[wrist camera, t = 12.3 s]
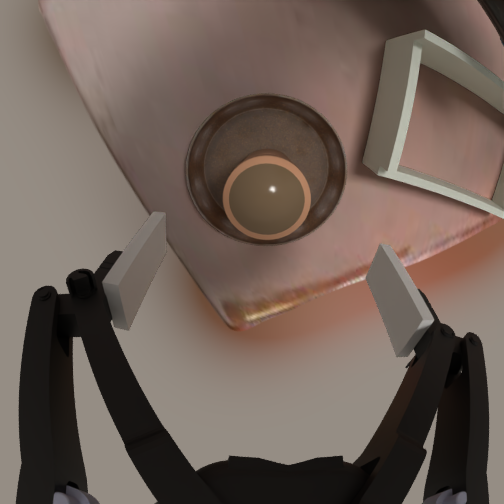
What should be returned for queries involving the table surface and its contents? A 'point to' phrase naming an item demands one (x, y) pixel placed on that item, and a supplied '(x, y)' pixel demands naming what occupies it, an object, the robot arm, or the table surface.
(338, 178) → the plant saucer
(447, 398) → the robot arm
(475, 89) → the frame
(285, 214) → the terracotta pot
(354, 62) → the table surface
